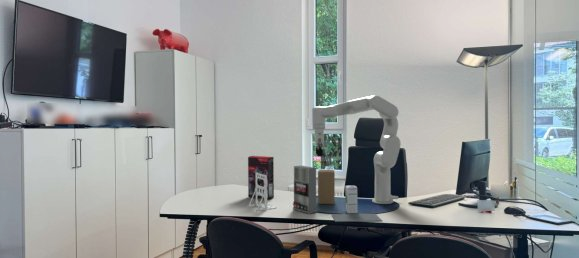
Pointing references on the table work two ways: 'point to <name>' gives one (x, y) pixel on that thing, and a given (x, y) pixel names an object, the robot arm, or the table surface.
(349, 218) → the mat
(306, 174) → the grey labelled carton
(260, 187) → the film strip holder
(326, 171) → the block
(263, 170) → the graphics card box
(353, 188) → the syrup box
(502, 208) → the table surface
